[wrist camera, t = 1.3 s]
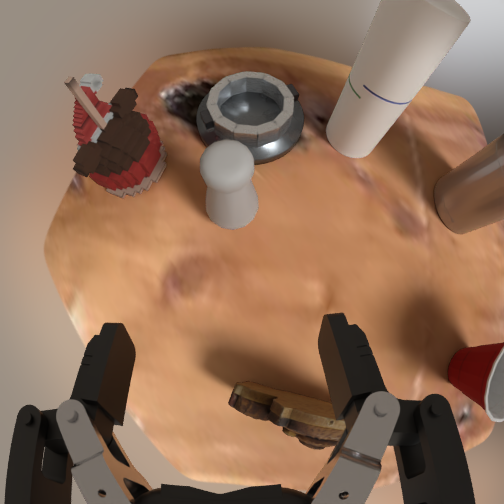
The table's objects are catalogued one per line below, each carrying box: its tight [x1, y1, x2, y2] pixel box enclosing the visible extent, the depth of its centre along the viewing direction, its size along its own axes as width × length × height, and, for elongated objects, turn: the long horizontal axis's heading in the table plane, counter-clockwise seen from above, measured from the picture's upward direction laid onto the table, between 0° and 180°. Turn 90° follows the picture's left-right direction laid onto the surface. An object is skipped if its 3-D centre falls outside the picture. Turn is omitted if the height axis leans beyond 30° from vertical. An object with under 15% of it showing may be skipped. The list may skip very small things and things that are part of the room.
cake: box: [64, 74, 167, 199], centre depth 25 cm, size 11×9×18 cm
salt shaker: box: [200, 139, 258, 230], centre depth 27 cm, size 6×6×13 cm
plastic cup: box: [448, 342, 504, 422], centre depth 24 cm, size 11×11×12 cm
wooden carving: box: [228, 381, 346, 450], centre depth 25 cm, size 16×5×10 cm, turn 75°
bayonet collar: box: [197, 71, 304, 165], centre depth 33 cm, size 14×14×4 cm
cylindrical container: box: [326, 0, 470, 158], centre depth 23 cm, size 7×7×25 cm
